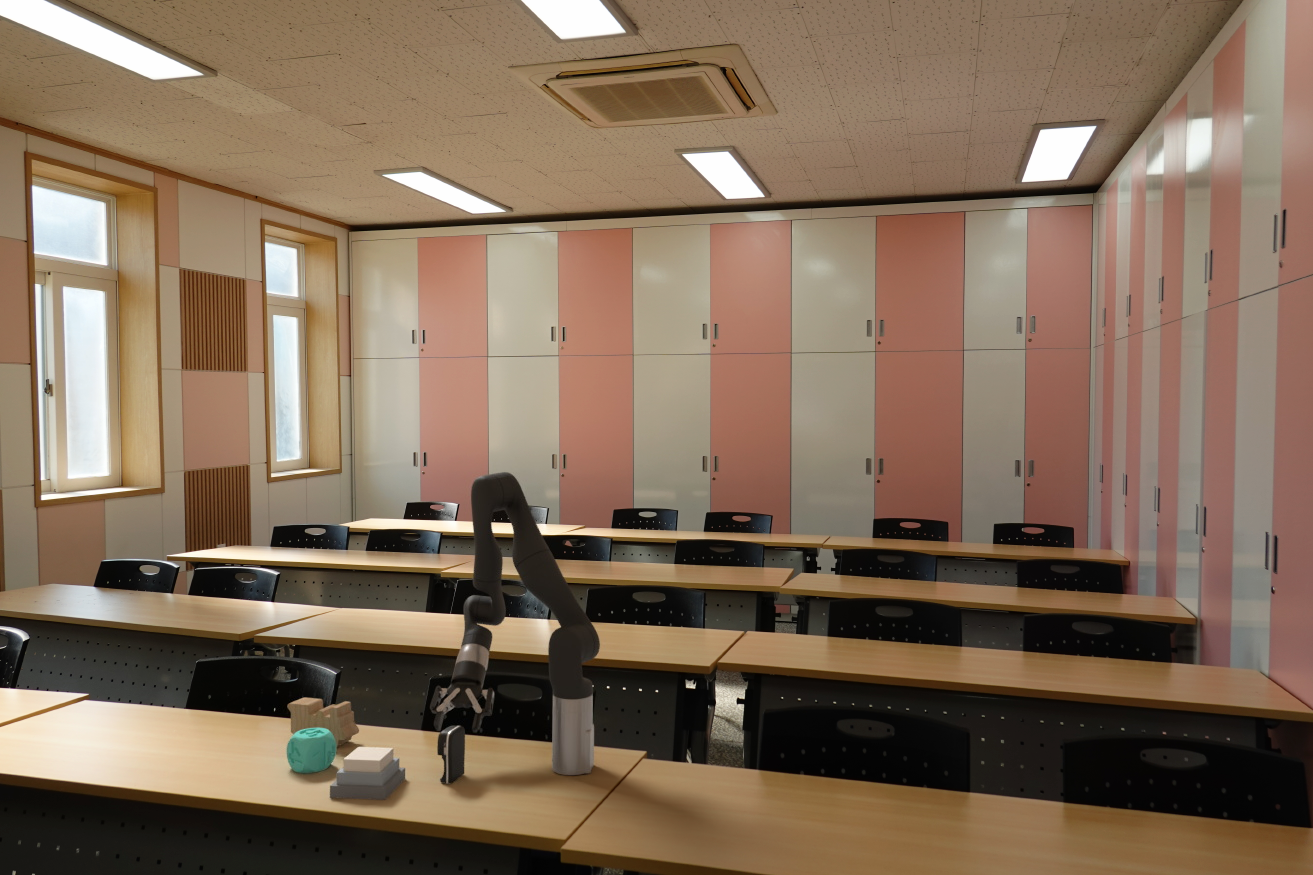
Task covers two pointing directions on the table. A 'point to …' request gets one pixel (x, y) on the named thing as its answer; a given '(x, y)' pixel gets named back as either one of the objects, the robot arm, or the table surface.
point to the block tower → (368, 774)
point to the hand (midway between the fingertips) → (456, 730)
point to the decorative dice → (311, 750)
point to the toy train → (323, 718)
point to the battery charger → (452, 752)
